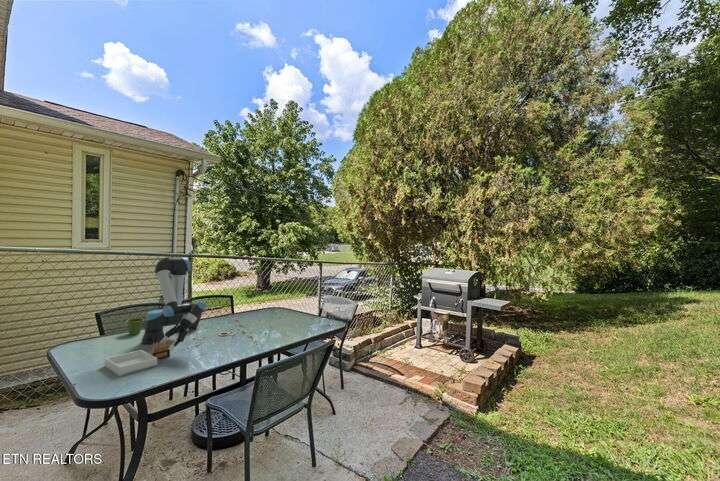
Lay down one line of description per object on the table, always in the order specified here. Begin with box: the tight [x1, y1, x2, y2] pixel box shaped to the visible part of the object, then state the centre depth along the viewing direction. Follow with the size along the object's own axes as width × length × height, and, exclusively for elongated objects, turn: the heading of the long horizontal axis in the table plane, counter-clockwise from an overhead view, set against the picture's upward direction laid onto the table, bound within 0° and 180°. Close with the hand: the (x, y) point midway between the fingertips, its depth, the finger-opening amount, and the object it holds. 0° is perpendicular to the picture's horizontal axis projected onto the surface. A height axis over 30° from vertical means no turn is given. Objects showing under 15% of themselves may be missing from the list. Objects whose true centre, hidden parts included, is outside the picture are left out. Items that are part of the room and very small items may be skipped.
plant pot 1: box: [126, 317, 145, 336], centre depth 256 cm, size 12×12×11 cm
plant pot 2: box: [186, 314, 202, 330], centre depth 278 cm, size 15×15×16 cm
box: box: [103, 349, 158, 377], centre depth 195 cm, size 22×20×5 cm
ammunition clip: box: [151, 338, 171, 361], centre depth 209 cm, size 11×2×12 cm, turn 144°
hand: (164, 347), depth 209 cm, fingers open, 13 cm apart
